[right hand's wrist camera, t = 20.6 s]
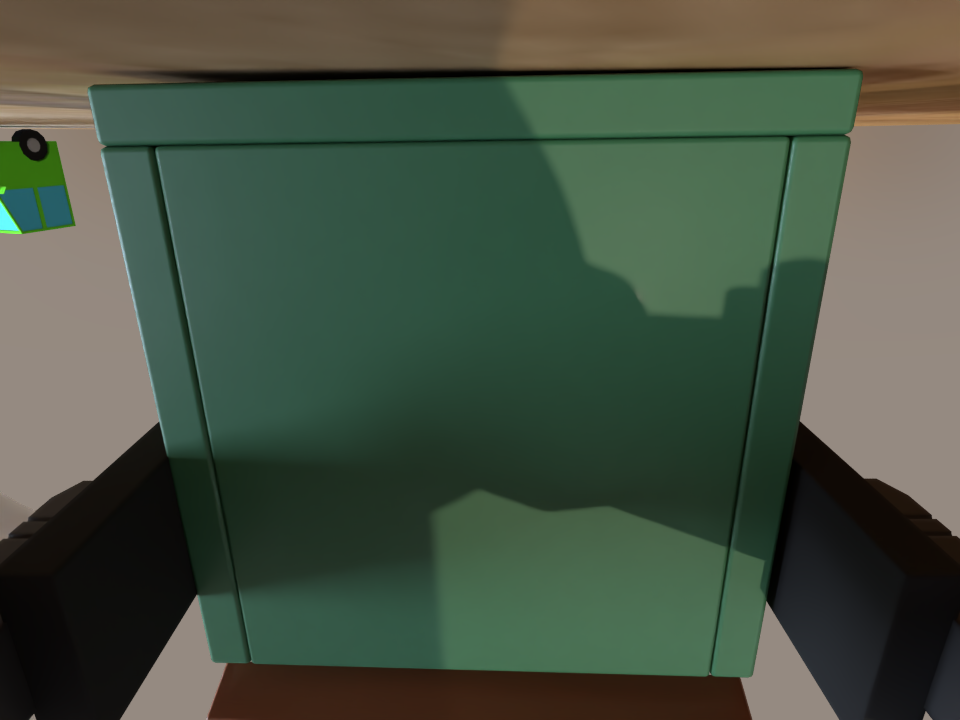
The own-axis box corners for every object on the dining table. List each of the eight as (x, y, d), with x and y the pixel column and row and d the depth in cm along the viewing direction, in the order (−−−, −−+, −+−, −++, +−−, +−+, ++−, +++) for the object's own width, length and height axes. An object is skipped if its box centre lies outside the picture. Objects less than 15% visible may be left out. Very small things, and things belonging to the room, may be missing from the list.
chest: (629, 112, 22) (612, 362, 25) (363, 117, 22) (382, 361, 26) (868, 67, 7) (754, 679, 10) (81, 83, 8) (210, 664, 11)
